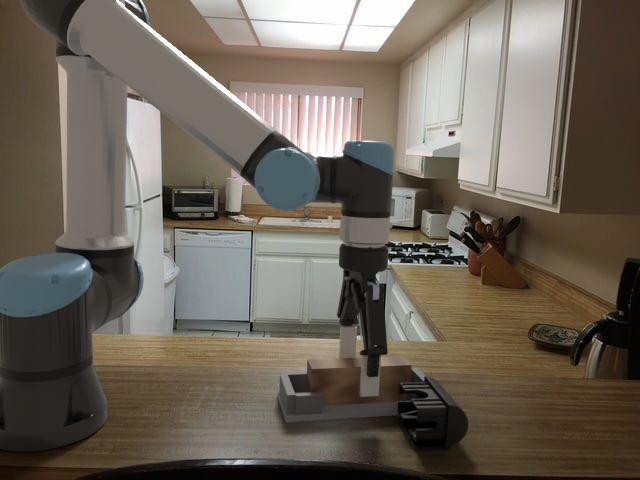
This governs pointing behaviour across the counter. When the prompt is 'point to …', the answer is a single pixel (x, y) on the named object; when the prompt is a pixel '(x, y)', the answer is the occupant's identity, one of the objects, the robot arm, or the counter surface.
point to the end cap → (431, 416)
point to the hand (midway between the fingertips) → (357, 378)
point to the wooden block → (355, 380)
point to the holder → (310, 405)
